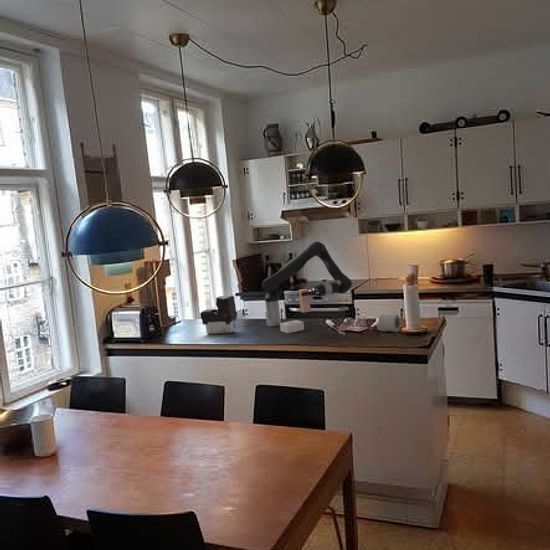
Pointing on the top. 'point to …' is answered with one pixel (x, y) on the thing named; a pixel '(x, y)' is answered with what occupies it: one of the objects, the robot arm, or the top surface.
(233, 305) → the bill acceptor
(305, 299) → the tall brown pillar
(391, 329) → the toilet paper
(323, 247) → the robot arm
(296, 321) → the white square socket block
